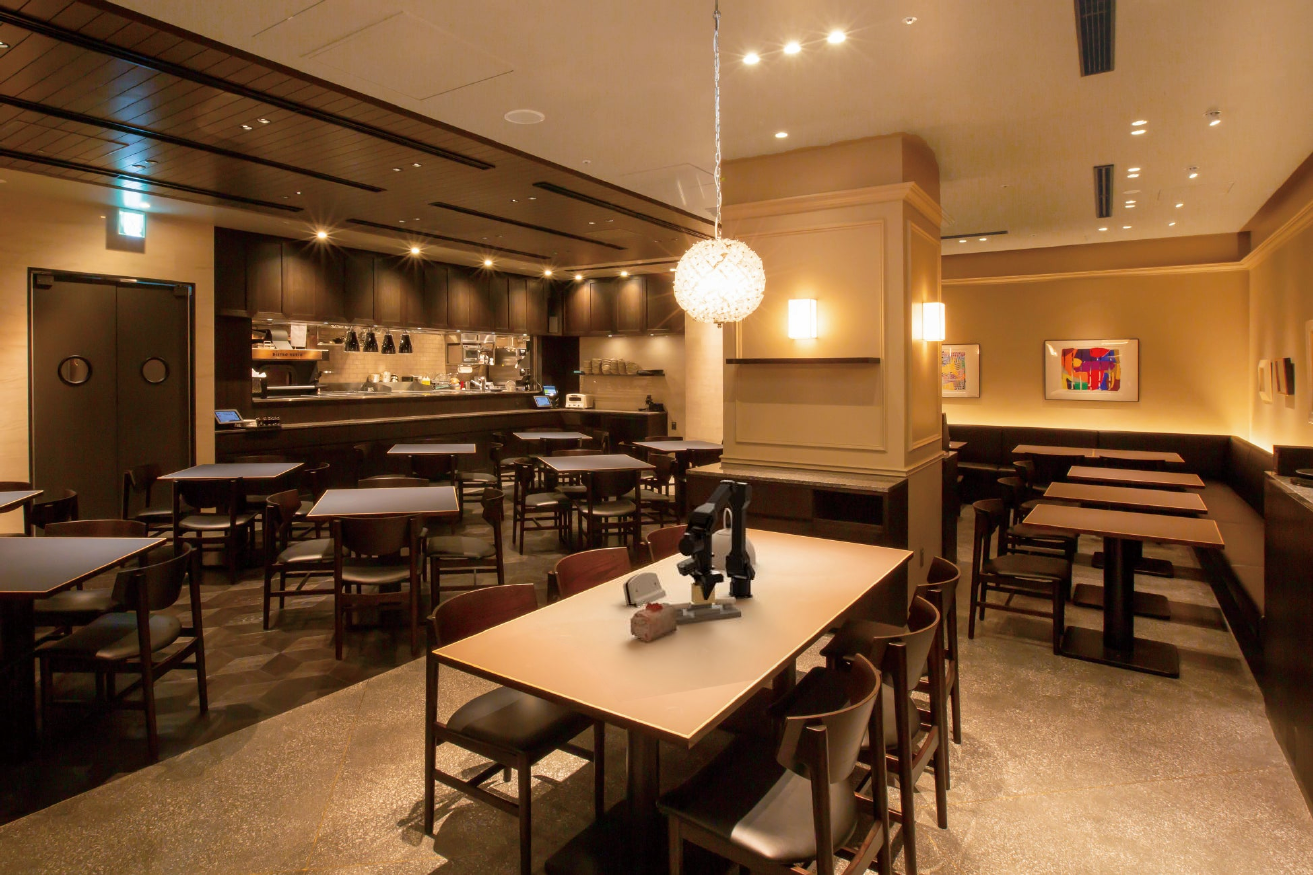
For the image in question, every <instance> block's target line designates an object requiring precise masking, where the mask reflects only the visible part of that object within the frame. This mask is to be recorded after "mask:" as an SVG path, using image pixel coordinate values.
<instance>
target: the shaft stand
mask: <svg viewBox="0 0 1313 875" xmlns="http://www.w3.org/2000/svg"><path fill="white" fill-rule="evenodd" d="M735 603H736V598H735V597H734V596H731V597H720V598H715V603H707V604H699V605H696V604H695V603H691V602H690V601H688V602H680V603H672V604H670V603H669V604H670V605H672V606H674V607H675V613H676V625H677V624H678V625H683V624H684V623H686V624H690V623H691V624H692V623H700V622H699V621H701V622H706V621H713V620H714V621H715V619H716V620H722V619H724V620H725V619H730V618H738V617H742V611H741V610H739V609H738V608H737V607H735V606H733V604H735Z"/></svg>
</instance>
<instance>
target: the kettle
mask: <svg viewBox="0 0 1313 875" xmlns="http://www.w3.org/2000/svg"><path fill="white" fill-rule="evenodd" d="M727 512H728V514H729V516H730V521H727V522H726V515H727ZM731 543H732V510H731V509H729V508H727V507H726V508H725V509H724V511H723V528H722V529H719V530H717V531H715V534H712V553H714V554H715V557H712V566H714V567H715V568H717V569H716V570H725V564H726V555H728V554H729V553H730V551H731ZM746 551H747V553H748V555H749V557H750V564H751V566H753V565H755V564H756V565H757V562H756V561H757V557H756V556H757V555H756V550H755V547H754V544H753V543H752V541H751V540H750V538H748V536H746ZM756 565H755V566H756ZM753 567H754V566H753Z"/></svg>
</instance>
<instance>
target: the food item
mask: <svg viewBox="0 0 1313 875" xmlns="http://www.w3.org/2000/svg"><path fill="white" fill-rule="evenodd" d="M674 632H677V624H676V613H675V607H674V606H672V605H670V603H668V602H661V603H659V602H653V603H652V602H647V604H646V605H645V608H642V609H640V610H637V611H636V612H635V613H634V614H633V616H632V617H630V634H631V635H632V636H633V635H634V637H636V638H638V639H640V640H641V639H642V640H641V641H644V642H646V643H651V642H653V641H655V640H657V639H658V638H659V639H660V638H662V637H664V636H667V635H669V634H672V633H674Z"/></svg>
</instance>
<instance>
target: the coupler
mask: <svg viewBox="0 0 1313 875" xmlns="http://www.w3.org/2000/svg"><path fill="white" fill-rule="evenodd" d="M690 585H691V590H690V592H691V594H690V596H691V600H690V601H691V602H692V604H694V603H695V604H696V605H699V604H707V603H712V604H715V599H716V585H715V586H714V588H713V590H712V592H711V594H710V596H709V598H708V600H704V596H703V588H702V584H701V583H700V582H695V581H694V582H691V584H690Z"/></svg>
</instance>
